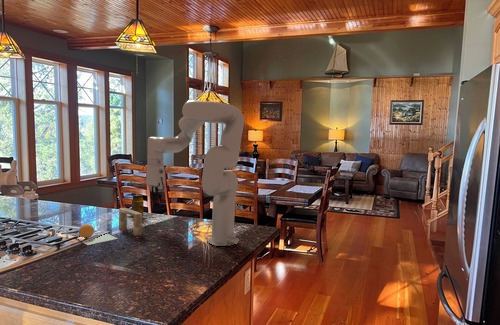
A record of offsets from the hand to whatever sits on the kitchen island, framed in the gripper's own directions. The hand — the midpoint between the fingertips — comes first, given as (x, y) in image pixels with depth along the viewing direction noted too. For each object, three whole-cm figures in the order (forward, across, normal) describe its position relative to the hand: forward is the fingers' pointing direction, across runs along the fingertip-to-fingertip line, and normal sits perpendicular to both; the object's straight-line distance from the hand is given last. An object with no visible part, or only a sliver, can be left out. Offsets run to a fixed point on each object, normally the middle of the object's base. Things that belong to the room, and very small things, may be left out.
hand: (154, 199), depth 174 cm
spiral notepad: (+13, 0, +29) cm, 32 cm away
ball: (+10, +3, +32) cm, 34 cm away
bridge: (+13, 0, +13) cm, 19 cm away
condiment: (+14, +22, -3) cm, 26 cm away
